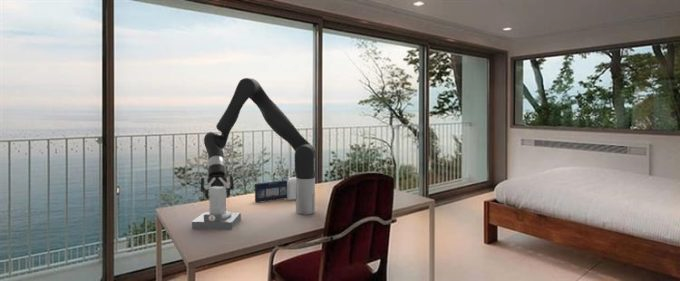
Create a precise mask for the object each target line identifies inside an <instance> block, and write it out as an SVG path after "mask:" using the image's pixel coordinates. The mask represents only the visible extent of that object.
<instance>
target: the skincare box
mask: <svg viewBox="0 0 680 281" xmlns="http://www.w3.org/2000/svg"><path fill="white" fill-rule="evenodd" d="M208 201H209V203H208V204H209V212H210V213H222V215H223V214H225V213H226V211H227V190H226V187H222V186H221V187H220V186H214V187H210V188H209V191H208Z"/></svg>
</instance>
